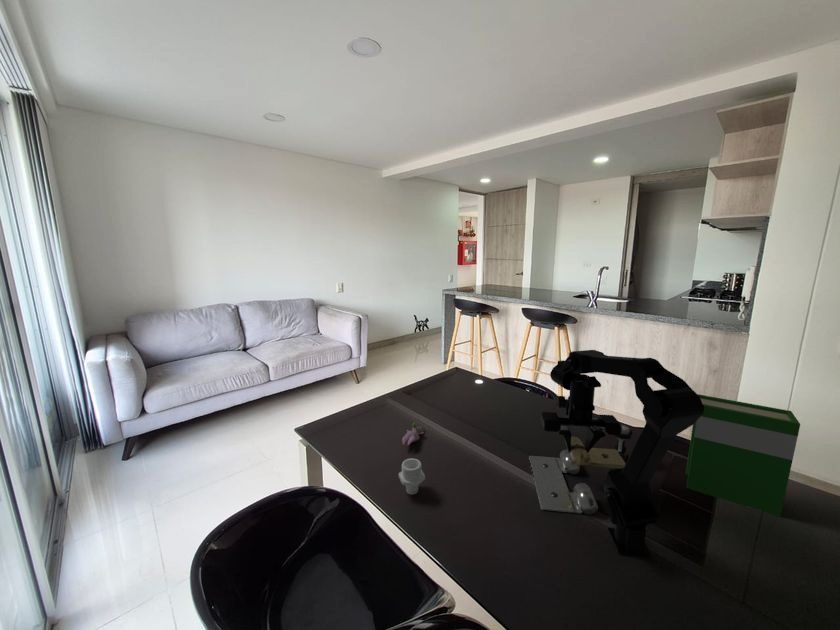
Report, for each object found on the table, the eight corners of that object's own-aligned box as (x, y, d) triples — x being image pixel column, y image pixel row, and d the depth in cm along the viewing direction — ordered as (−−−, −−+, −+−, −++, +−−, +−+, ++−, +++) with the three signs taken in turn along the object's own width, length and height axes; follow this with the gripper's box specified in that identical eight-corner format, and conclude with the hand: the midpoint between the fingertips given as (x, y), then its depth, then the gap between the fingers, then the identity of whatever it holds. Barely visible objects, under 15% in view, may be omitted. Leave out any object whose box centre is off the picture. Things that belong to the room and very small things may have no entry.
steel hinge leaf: (597, 515, 83) (598, 500, 82) (541, 509, 85) (541, 495, 85) (573, 461, 104) (574, 449, 103) (528, 458, 106) (529, 446, 105)
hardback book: (686, 488, 92) (699, 404, 87) (685, 473, 98) (697, 394, 93) (780, 516, 82) (800, 424, 77) (772, 498, 87) (791, 411, 83)
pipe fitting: (418, 479, 97) (417, 453, 96) (428, 495, 91) (427, 468, 89) (397, 485, 95) (396, 459, 94) (405, 502, 89) (404, 475, 87)
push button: (627, 467, 100) (631, 436, 98) (607, 461, 104) (610, 430, 102) (630, 456, 106) (633, 426, 104) (610, 450, 109) (613, 421, 107)
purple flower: (410, 431, 125) (396, 448, 111) (411, 415, 125) (396, 430, 110) (427, 434, 123) (414, 451, 109) (427, 417, 123) (415, 433, 109)
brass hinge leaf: (626, 468, 87) (628, 454, 86) (572, 464, 89) (573, 450, 88) (615, 452, 94) (616, 439, 93) (565, 449, 96) (566, 436, 95)
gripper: (608, 386, 95) (603, 437, 98) (537, 384, 98) (535, 434, 101) (625, 404, 84) (619, 461, 87) (546, 401, 87) (543, 456, 90)
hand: (577, 452), depth 92 cm, fingers closed on brass hinge leaf, 4 cm apart
